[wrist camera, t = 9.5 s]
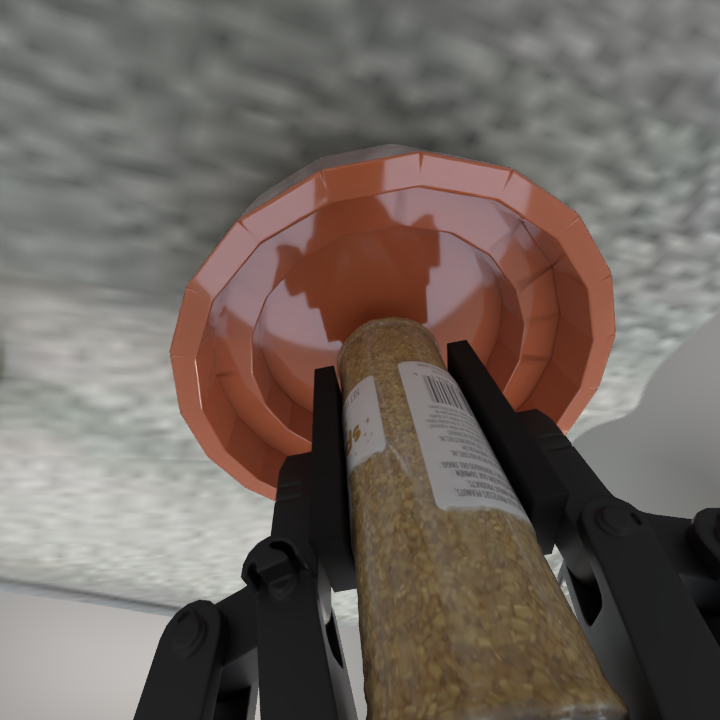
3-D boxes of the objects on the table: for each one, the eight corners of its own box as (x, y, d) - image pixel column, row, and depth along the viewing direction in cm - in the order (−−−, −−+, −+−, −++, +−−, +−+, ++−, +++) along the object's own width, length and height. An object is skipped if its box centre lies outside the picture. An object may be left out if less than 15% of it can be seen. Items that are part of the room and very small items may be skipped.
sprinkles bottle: (315, 347, 14) (283, 1109, 3) (412, 291, 13) (863, 1137, 2) (369, 413, 17) (460, 983, 6) (456, 370, 16) (777, 965, 5)
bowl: (393, 22, 11) (438, -43, 7) (592, 323, 18) (674, 383, 14) (146, 342, 16) (85, 417, 12) (374, 475, 23) (385, 551, 19)
